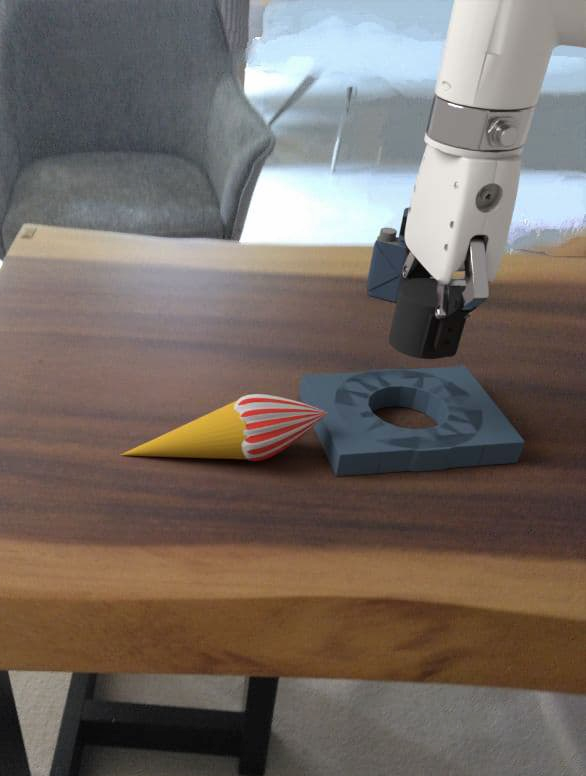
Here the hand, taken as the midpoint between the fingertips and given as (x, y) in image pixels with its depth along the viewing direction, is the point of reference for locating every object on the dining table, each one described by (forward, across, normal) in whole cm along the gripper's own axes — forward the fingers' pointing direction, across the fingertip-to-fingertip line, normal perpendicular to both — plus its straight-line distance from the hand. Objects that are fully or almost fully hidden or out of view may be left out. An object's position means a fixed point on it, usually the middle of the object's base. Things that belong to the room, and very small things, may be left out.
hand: (423, 335), depth 73 cm
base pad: (+10, 0, 0) cm, 10 cm away
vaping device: (+10, +29, -8) cm, 32 cm away
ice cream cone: (+11, -2, +19) cm, 22 cm away
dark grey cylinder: (+1, 0, 0) cm, 1 cm away
